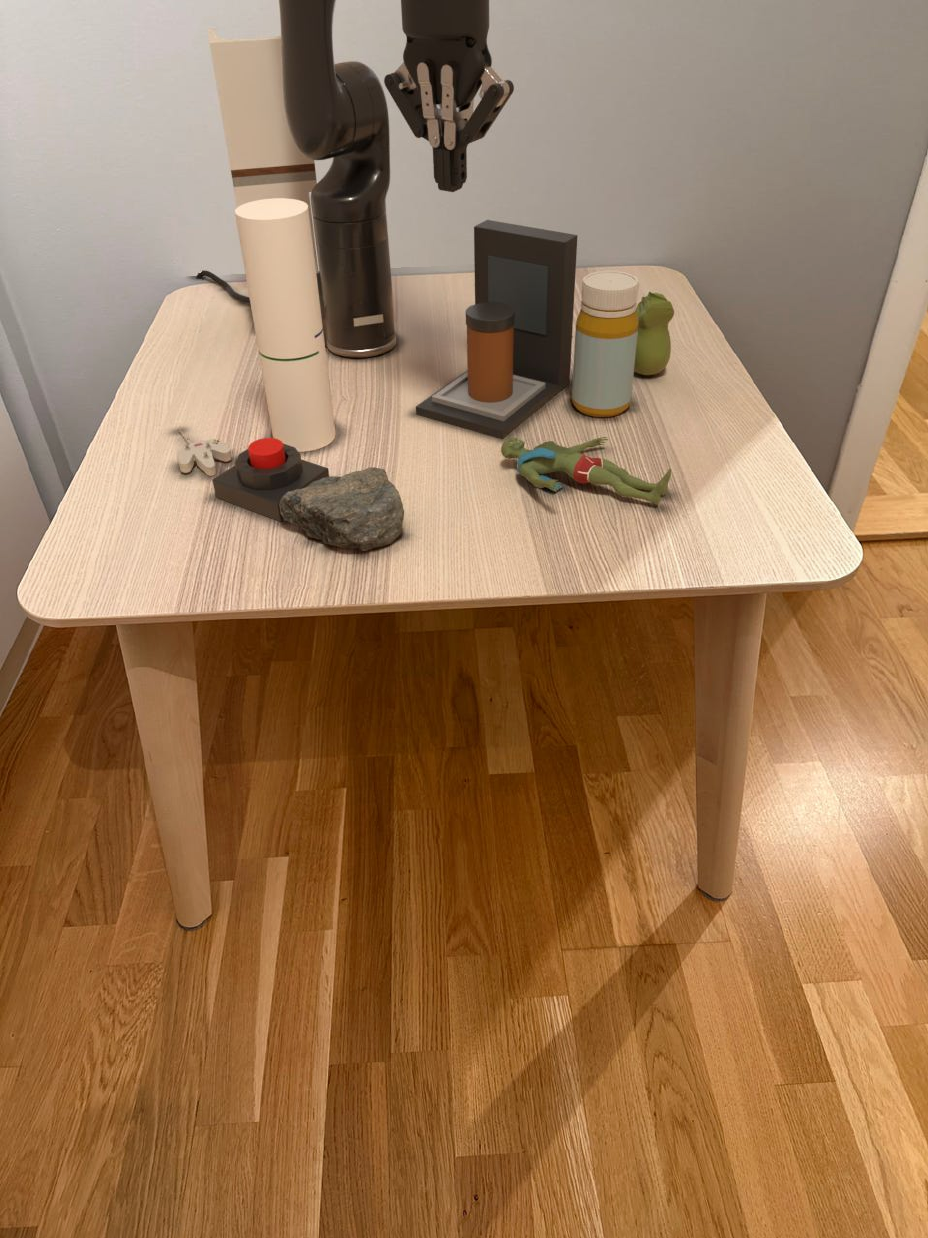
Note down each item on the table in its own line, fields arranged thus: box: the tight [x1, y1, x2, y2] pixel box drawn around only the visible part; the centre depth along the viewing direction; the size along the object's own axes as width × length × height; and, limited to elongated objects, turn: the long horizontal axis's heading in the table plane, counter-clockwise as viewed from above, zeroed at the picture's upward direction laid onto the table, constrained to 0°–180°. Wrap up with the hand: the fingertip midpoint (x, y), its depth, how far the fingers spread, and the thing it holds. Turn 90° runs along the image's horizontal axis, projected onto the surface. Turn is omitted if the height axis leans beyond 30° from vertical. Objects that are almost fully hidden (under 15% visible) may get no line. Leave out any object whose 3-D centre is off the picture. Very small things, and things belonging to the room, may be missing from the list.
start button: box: [247, 437, 286, 469], centre depth 96 cm, size 4×4×2 cm
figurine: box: [500, 436, 672, 506], centre depth 97 cm, size 16×4×18 cm
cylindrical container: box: [234, 198, 336, 453], centre depth 100 cm, size 7×7×25 cm
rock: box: [279, 466, 405, 552], centre depth 91 cm, size 12×10×5 cm
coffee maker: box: [415, 219, 578, 440], centre depth 108 cm, size 16×12×18 cm
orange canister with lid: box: [465, 302, 515, 402], centre depth 110 cm, size 7×6×10 cm
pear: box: [634, 291, 675, 376], centre depth 115 cm, size 6×5×10 cm
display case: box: [206, 28, 319, 273], centre depth 126 cm, size 11×11×35 cm
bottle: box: [571, 270, 640, 418], centre depth 107 cm, size 7×7×15 cm
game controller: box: [176, 428, 232, 477], centre depth 104 cm, size 6×12×3 cm, turn 49°
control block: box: [211, 444, 330, 522], centre depth 97 cm, size 9×8×4 cm
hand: (450, 188), depth 89 cm, fingers closed
